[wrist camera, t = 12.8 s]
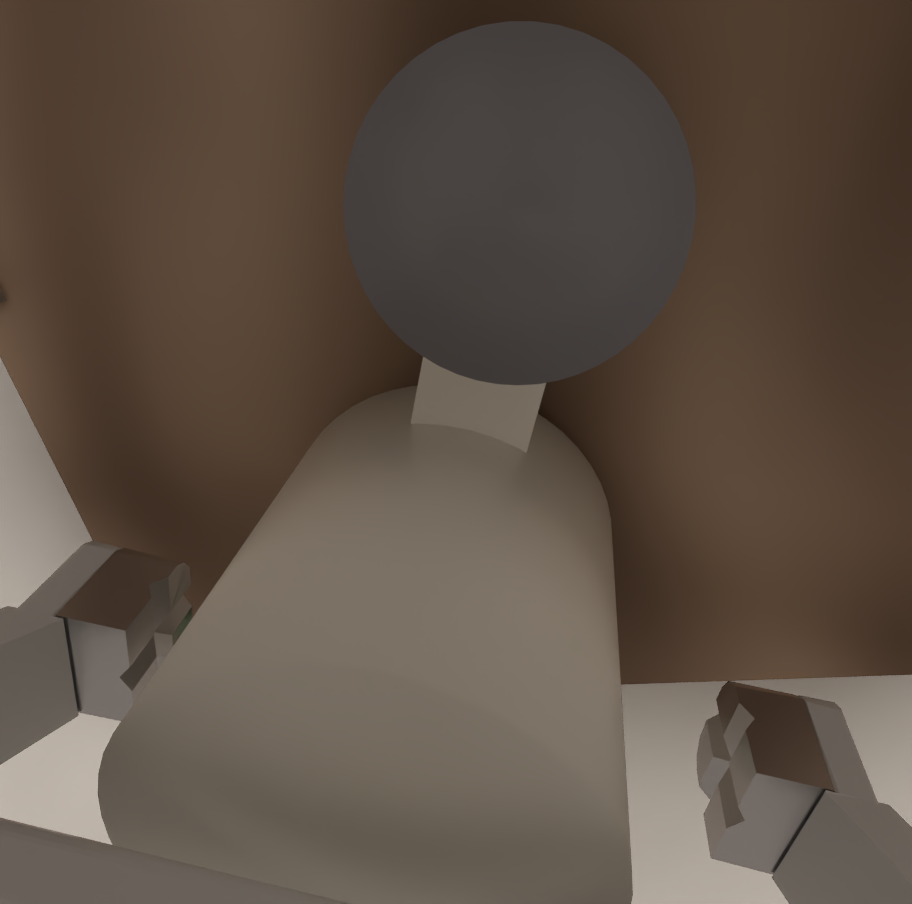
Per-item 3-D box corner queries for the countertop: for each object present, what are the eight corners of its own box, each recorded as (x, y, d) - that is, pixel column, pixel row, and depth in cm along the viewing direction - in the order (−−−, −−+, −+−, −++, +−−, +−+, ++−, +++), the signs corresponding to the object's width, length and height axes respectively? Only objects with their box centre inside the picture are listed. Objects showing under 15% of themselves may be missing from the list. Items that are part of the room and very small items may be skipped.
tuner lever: (347, -18, 10) (30, -108, 4) (791, 84, 10) (1083, 131, 4) (282, 610, 15) (108, 934, 10) (561, 684, 15) (549, 1057, 10)
